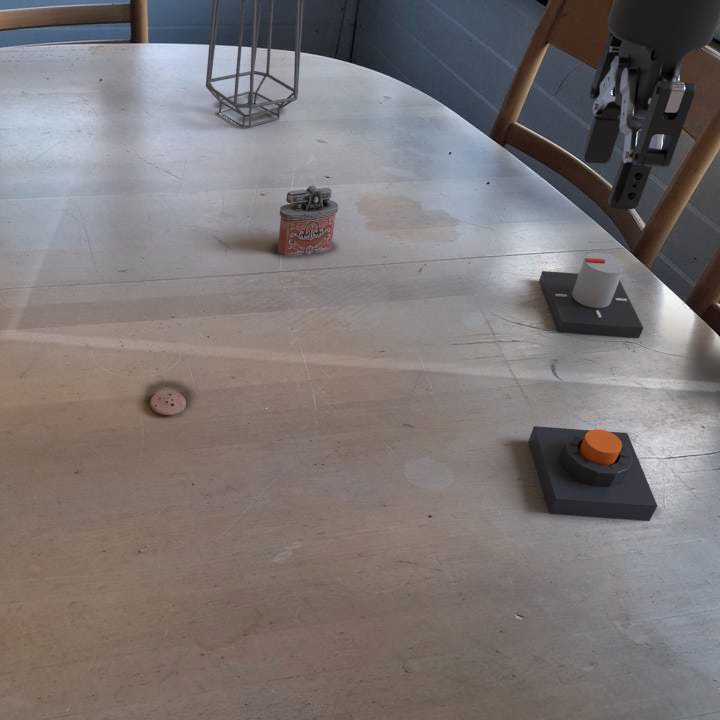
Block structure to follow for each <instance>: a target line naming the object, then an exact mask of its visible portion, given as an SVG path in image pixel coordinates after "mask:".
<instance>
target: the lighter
mask: <svg viewBox="0 0 720 720" xmlns="http://www.w3.org/2000/svg"><path fill="white" fill-rule="evenodd" d="M332 191H333V190H332V189H331V187H321V188H317V186H315V185H310V186H308V187H307V189H296V190H289V191H288V192H286V200H285V201H286V203H287V204H284V205H281V206H280V208H279V216H280V221H279V230H278V231H279V232H278V242H277V253H278V254H280V255H281V256H285V257H286V256H287V257H290V256H303V255H311V254H316V253H321V252H324V251H328V250H331V248H332V245H333V244H332V242H333V236H334V228H335V221H336V216H337V215H336V214H337V213H338V211H339V204H338V202H336V201H334V200H331V198H332V193H333V192H332Z"/></svg>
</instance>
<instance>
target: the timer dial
mask: <svg viewBox="0 0 720 720" xmlns="http://www.w3.org/2000/svg"><path fill="white" fill-rule="evenodd" d="M581 263H582V264H581V267H580V269H579V272H578V274H579V275H578V277H577V280H576V283H575V286H574V289H573V291H572V297H573V298H574V299H575V300H576V301H577V302H578V303H580V304H582V305H584V306H587V307H592V308H604V307H607V306H608V305H610V303H611V301H612V298H613V295H614V293H615V290H616V288H617V285H618V283H619V280H620V281H621V278H622V275H623V273H624V270H625V264H624V262H623V261H622V260H621V259H620V258H618V257H616V256H614V255H611V254H608V253H604V252H591V253H588V254H586V255H585V256H584V258H583V261H582V262H581Z"/></svg>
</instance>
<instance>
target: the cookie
mask: <svg viewBox="0 0 720 720" xmlns="http://www.w3.org/2000/svg"><path fill="white" fill-rule="evenodd" d="M149 405H150V407H151V409H152V410H153V411H154V412H156V413H157V414H159V415H163V416H174V415H178V414H179V413H181V412H183V411H184V410H185V408H186V406H187V400H186V399H185V397H184V396H183V395H182V394H180V393H179V392H176V391H170V390H164V391H159V392H157V393H155V394H153V396H152V397H151V398H150V403H149Z"/></svg>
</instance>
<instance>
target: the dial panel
mask: <svg viewBox="0 0 720 720" xmlns="http://www.w3.org/2000/svg"><path fill="white" fill-rule="evenodd" d="M578 275H579V273H574V272H561V271H551V270H550V271H549V270H547V271H546V270H542V271H541V274H540V277H539V279H538V283H539V285H540V288H541V291H542V293H543V296H544V299H545V301H546V305H547V307H548V309H549V311H550V315H551V317H552V320H553V323H554V325H555V328H556V331H557V333H559V334H561V333H562V334H574V335H590V336H601V337H602V336H603V337H617V338H629V339H640V337H641V335H642V333H643V330H644V326H643V324H642V322H641V320H640V318H639V316H638V314H637V311H636V310H635V307H634V306H633V304H632V302H631V299H630V297H629V296H628V293H627V292H626V290H625V288H624V285H623V284H622V282H621V279H620V280H619V283H618V285H617V288H616V290H615V293H614V295H613V298H612V301H611V303H610V305H608V306H607V307H604V308H592V307H587V306H584V305H582V304H580V303H578V302H577V301H576V300H575V299H574V298H573V297H572V291H573V289H574V286H575V283H576V280H577V277H578Z"/></svg>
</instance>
